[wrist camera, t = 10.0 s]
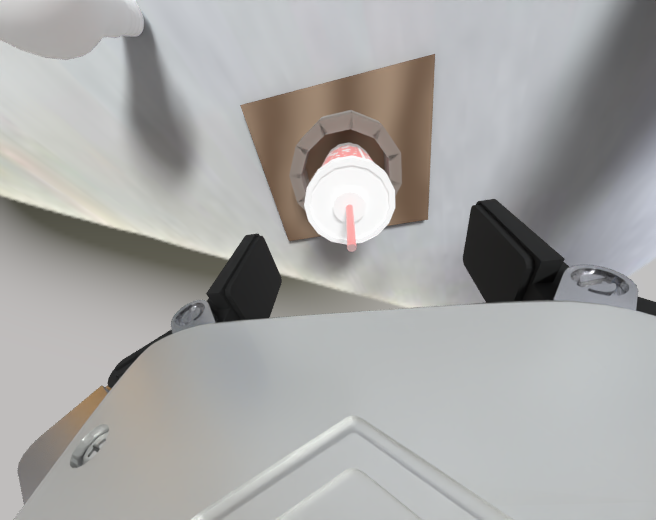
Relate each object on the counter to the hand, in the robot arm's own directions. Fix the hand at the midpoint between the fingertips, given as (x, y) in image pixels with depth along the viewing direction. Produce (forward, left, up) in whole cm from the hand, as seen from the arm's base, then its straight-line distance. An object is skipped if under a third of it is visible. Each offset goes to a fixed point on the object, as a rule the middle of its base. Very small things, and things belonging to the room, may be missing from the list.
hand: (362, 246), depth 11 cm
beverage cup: (+1, 0, -15) cm, 15 cm away
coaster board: (+1, 0, -15) cm, 15 cm away
